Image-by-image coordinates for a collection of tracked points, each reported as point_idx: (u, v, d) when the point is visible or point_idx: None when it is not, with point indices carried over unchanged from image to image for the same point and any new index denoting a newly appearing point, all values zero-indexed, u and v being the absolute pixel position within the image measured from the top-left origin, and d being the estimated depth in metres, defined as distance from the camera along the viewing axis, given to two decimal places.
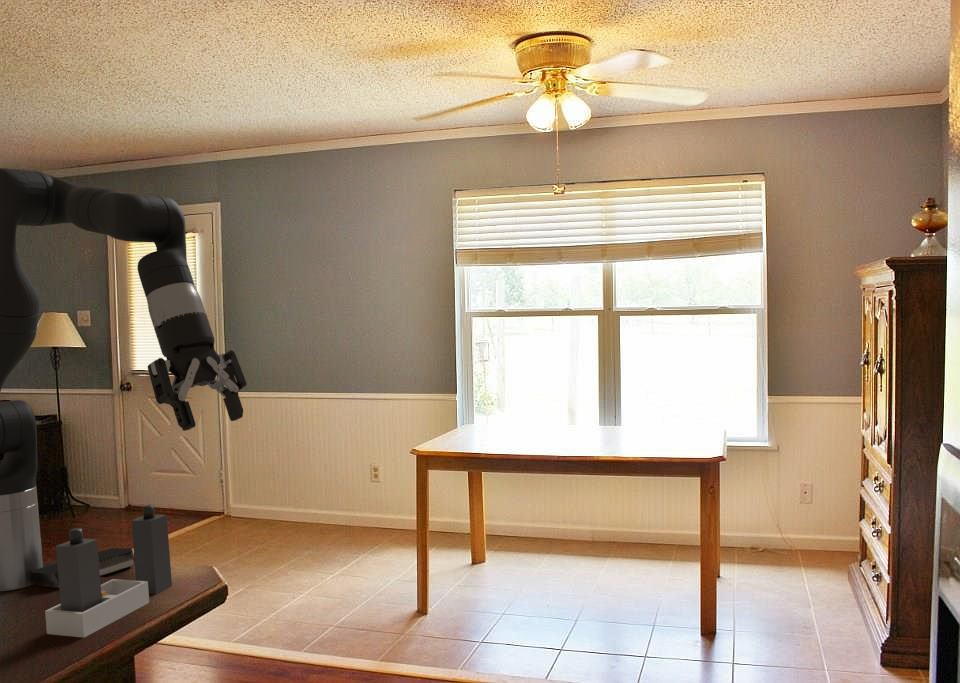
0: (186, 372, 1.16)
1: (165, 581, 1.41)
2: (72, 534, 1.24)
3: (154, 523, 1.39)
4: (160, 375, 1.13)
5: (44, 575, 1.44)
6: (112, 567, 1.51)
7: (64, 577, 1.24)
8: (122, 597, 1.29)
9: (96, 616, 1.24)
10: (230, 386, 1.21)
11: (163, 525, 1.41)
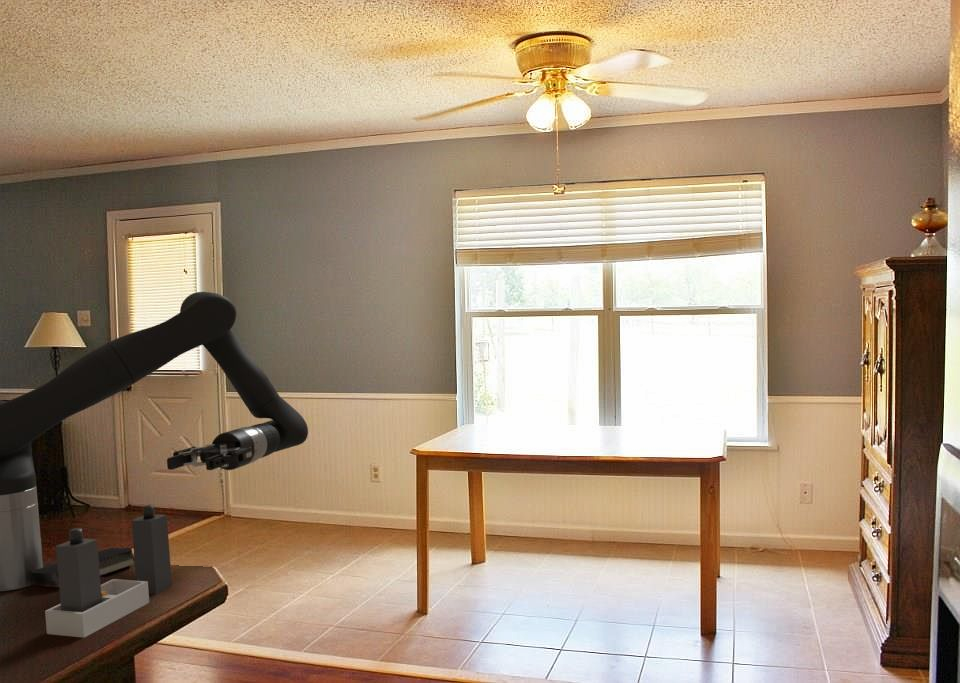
0: None
1: (165, 581, 1.41)
2: (72, 534, 1.24)
3: (154, 523, 1.39)
4: (246, 461, 1.56)
5: (45, 575, 1.44)
6: (112, 566, 1.52)
7: (64, 577, 1.24)
8: (122, 597, 1.29)
9: (96, 616, 1.24)
10: None
11: (163, 525, 1.41)
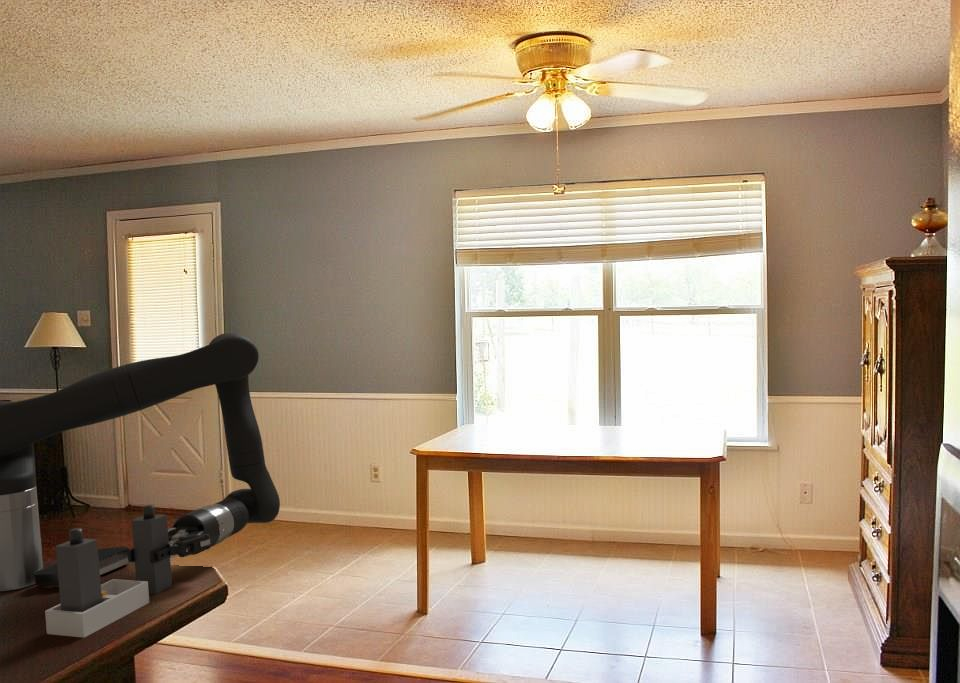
0: None
1: (165, 581, 1.41)
2: (72, 534, 1.24)
3: (154, 523, 1.39)
4: (199, 550, 1.43)
5: (50, 576, 1.44)
6: (112, 565, 1.53)
7: (64, 577, 1.24)
8: (122, 597, 1.29)
9: (96, 616, 1.24)
10: None
11: (163, 525, 1.41)
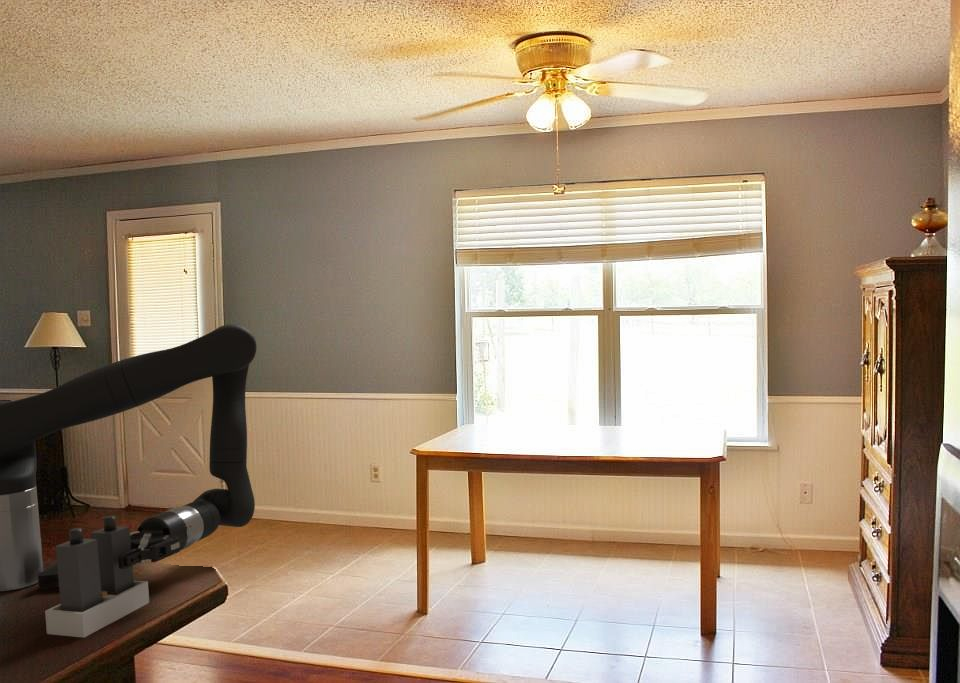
0: None
1: None
2: (72, 534, 1.24)
3: (115, 536, 1.30)
4: (170, 554, 1.35)
5: None
6: None
7: (64, 577, 1.24)
8: (122, 597, 1.29)
9: (96, 616, 1.24)
10: None
11: (125, 538, 1.32)
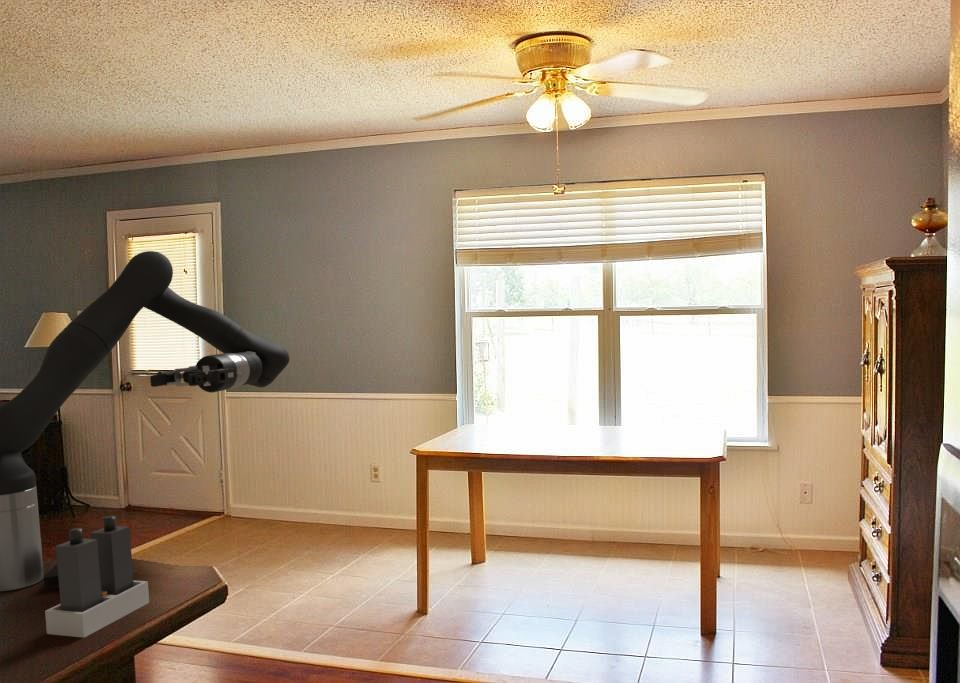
0: None
1: None
2: (72, 534, 1.24)
3: (115, 536, 1.30)
4: (227, 380, 1.59)
5: None
6: None
7: (64, 577, 1.24)
8: (122, 597, 1.29)
9: (96, 616, 1.24)
10: (170, 384, 1.60)
11: (125, 538, 1.32)
